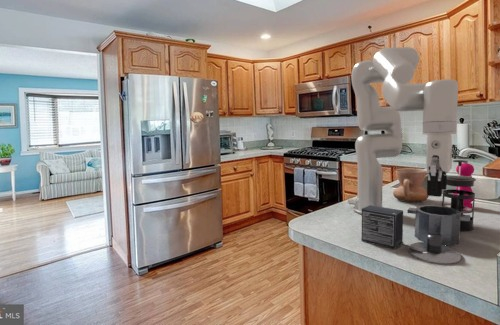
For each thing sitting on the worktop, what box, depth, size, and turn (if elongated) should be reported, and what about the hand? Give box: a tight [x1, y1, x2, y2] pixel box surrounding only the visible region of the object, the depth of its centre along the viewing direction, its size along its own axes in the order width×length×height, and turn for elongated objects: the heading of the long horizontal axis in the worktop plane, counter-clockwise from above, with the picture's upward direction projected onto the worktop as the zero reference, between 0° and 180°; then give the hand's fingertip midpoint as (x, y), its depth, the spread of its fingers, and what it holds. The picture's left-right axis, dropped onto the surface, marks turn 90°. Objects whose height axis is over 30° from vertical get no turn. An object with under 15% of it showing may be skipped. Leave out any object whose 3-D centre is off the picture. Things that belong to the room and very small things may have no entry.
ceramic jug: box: [392, 167, 430, 203], centre depth 137 cm, size 18×14×14 cm
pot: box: [406, 204, 471, 247], centre depth 94 cm, size 16×12×9 cm
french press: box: [441, 159, 476, 232], centre depth 102 cm, size 12×9×23 cm
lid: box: [408, 233, 462, 265], centre depth 83 cm, size 12×12×6 cm
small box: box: [360, 205, 404, 250], centre depth 93 cm, size 11×6×10 cm, turn 45°
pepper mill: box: [452, 158, 475, 209], centre depth 124 cm, size 7×7×20 cm
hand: (436, 192), depth 81 cm, fingers open, 9 cm apart
